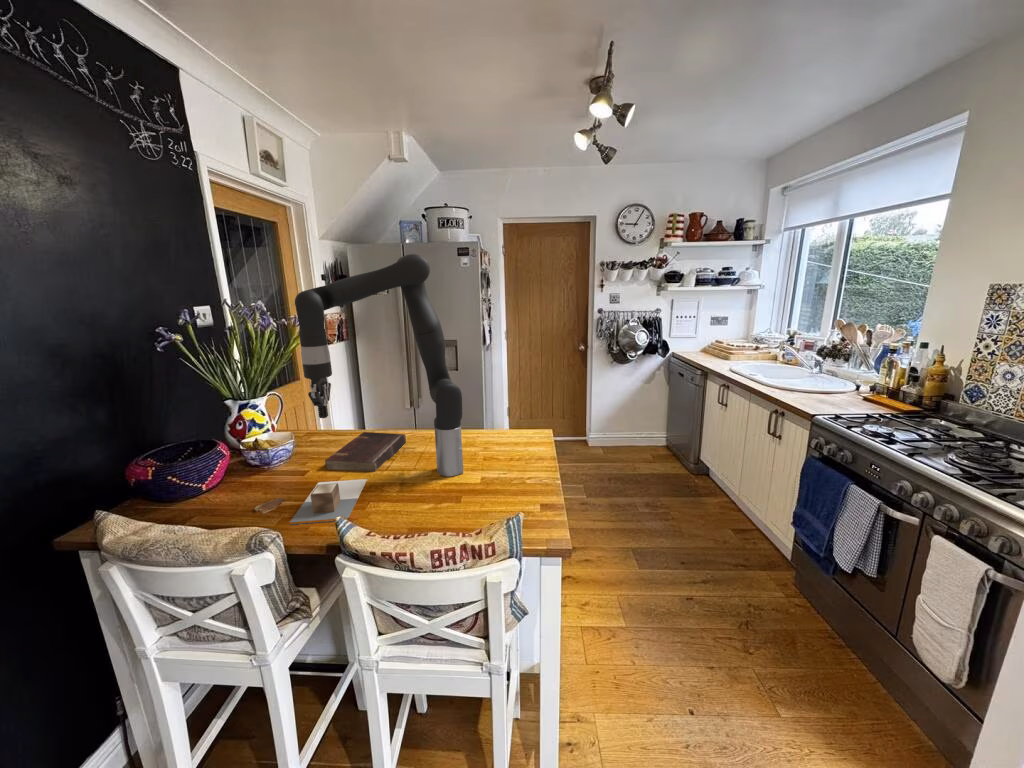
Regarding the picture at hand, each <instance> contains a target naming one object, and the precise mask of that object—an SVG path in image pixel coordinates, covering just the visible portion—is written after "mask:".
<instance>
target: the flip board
mask: <svg viewBox="0 0 1024 768" xmlns="http://www.w3.org/2000/svg"><path fill="white" fill-rule="evenodd" d="M367 481H368V479H367V478H366V479H365V478H364V479H350V480H337V481H335V480H333V481H320V482H319V481H318V482H317V484H316V485H315V487H314V488H313V490H314V489H315V488H316V486H317V485H322V484H337V483H338V486H339V494H340V503H339V505H338V506H337V508H336V510H335V512H323V513H313V508H312V502H311V493H312V492H313V490H311V492H310V493H309V495H308V496H307V498H306V499H305V500H304V501H303V503H302V504H301V506H300V507H299V508H298V510H297V511H296V513H294V516H293V517H292V518H291V520H290V521H289V523H290V524H289V526H300V524H303V525H310V524H311V525H312V524H314V523H315V524H326V523H336V522H335V521H336V520H337V519H336V517H339V516H342V517H345V518H344V519H348V518H349V517H350V515H351V514H352V512H353V509H354V508H355V506H356V503H357V502H358V499H359V497H360V495H361V493H362V490H363V489H364V487H365V485H366V483H367ZM334 519H335V520H334ZM326 520H327V521H326ZM309 521H310V522H309ZM312 521H313V522H312ZM297 522H299V523H297ZM300 522H302V523H300Z"/></svg>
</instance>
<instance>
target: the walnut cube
mask: <svg viewBox="0 0 1024 768" xmlns="http://www.w3.org/2000/svg"><path fill="white" fill-rule="evenodd" d="M316 485H317V484H316ZM316 485H315V487H316V488H315V487H314V488H315V489H314V488H313V489H314V490H312V491H313V492H312V491H311V492H312V493H311V492H310V493H311V502H312V508H313V513H323V512H335V510H336V508H337V506H338V505H339V503H340V494H339V486H338V483H337V484H322V485H317V486H316Z"/></svg>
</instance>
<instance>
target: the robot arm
mask: <svg viewBox="0 0 1024 768" xmlns="http://www.w3.org/2000/svg"><path fill="white" fill-rule="evenodd" d="M430 269H431V267H430V265H429V262H428V261H427V259H425V257H423V256H422V255H419V254H416V253H415V254H414V253H410V254H406V255H403V256H401V257H400V258H398V259H397V261H396V262H394V263H392V264H390V265H388V266H384V267H383V268H379V269H376V270H373V271H368V272H364V273H359V274H355V275H352V276H348V277H345V278H341V279H339V280H335V281H333V282H330V283H329V284H326V285H322V286H318V287H314V288H310V289H306V290H303V291H301V292H299V293H297V295H296V296H295V298H294V306H295V311H296V316H297V323H298V325H299V329H298V331H299V332H298V333H299V334H298V335H299V336H298V337H299V343H300V357H301V364H302V371H303V377H304V378H305V379H308V380H310V385H309V386H310V391H309V392H308V397H309V399H310V401H311V403H312V405H313V406H314V407H317V410H318V411H317V412H318V417H319V419H327V418H328V417H329V411H328V410H329V409H328V404H329V401H330V398H331V388H332V383H331V382H329V381H328V378H329V377H331V376H332V375H333V369H332V362H331V354H330V350H329V349H330V348H329V345H328V338H327V330H326V326H325V311H328V310H329V309H333V308H335V307H343V306H345V305H350V304H352V303H355V302H358V301H362V300H364V299H367V298H368V297H371V296H374V295H377V294H380V293H383V292H385V291H388V290H392V289H395V288H396V289H397V288H401V292H402V294H403V296H404V299H405V302H406V306H407V311H408V315H409V319H410V320H409V321H410V323H411V327H412V333H413V335H414V339H415V343H416V346H417V348H418V351H419V355H420V358H421V361H422V363H423V366H424V369H425V372H426V377H427V383H428V391H429V396H430V398H431V400H432V402H434V403H435V418H434V420H433V425H434V428H433V429H434V441H435V454H436V455H435V457H436V471H437V472H438V473H437V474H438V475H439V474H440V475H439V476H441V475H442V476H443V477H454V476H458V475H461V474H462V473H463V474H464V461H463V460H464V457H463V441H462V440H463V439H462V419H463V395H462V391H461V388H460V387H459V386H458V385H457V384H455V383H454V382H453V380H452V379H451V377H450V373H449V371H448V367H447V363H446V341H445V336H444V333H443V332H444V331H443V327H442V324H441V322H440V319H439V317H438V314H437V313H436V311H435V309H434V307H433V305H432V303H431V302H430V299H429V297H428V293H427V289H426V284H425V282H426V280H427V279H428V278H429V275H430Z"/></svg>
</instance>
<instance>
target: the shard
mask: <svg viewBox="0 0 1024 768" xmlns="http://www.w3.org/2000/svg"><path fill="white" fill-rule="evenodd" d="M284 502H285V498H284V497H281V498H280V497H279V498H275V499H272V500H267V501H266V502H263V503H260V504H258V505H256V506H255V507H254V511H256V512H258V511H260V513H261V514H267V513H268V512H271V511H274V510H275V509H277V508H278V507H280V505H282V503H284Z"/></svg>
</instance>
